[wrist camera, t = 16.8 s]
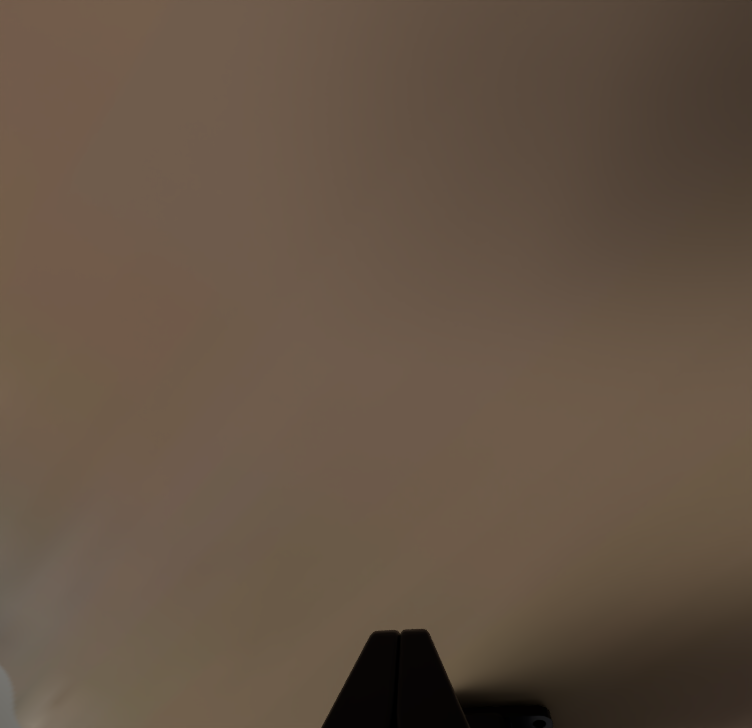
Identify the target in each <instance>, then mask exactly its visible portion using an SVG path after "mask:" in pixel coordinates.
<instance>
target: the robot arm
mask: <svg viewBox="0 0 752 728" xmlns="http://www.w3.org/2000/svg"><path fill="white" fill-rule="evenodd" d="M321 728H553V723H552V719H551V715H550V711H549V710H548V709H547V708H546V707H544V706H539V705H531V706H507V707H482V708H461V706H460V703H459V701H458V699H457V697H456V694H455V692H454V690H453V687H452V685H451V683H450V680H449V678H448V676H447V673H446V671H445V669H444V666H443V664H442V662H441V660H440V657H439V655H438V653H437V650H436V648H435V646H434V643H433V641H432V639H431V636H430V634H429V632H428V631H427V630H425V629H408V630H403V631H402V632H401V634H400V633H399V632H398V631H396V630H385V631H375V632H373V633H372V634H371V635H370V637H369V639H368V641H367V643H366V644H365V646H364V648H363V650H362V652H361V654H360V656H359V658H358V660H357V661H356V663H355V665H354V667H353V669H352V671H351V673H350V675H349V677H348V678H347V680H346V682H345V684H344V686H343V688H342V690H341V692H340V693H339V695H338V697H337V699H336V701H335V703H334V705H333V707H332V709H331V710H330V712H329V714H328V716H327V718H326V720H325V722H324V724H323V726H322V727H321Z"/></svg>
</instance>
